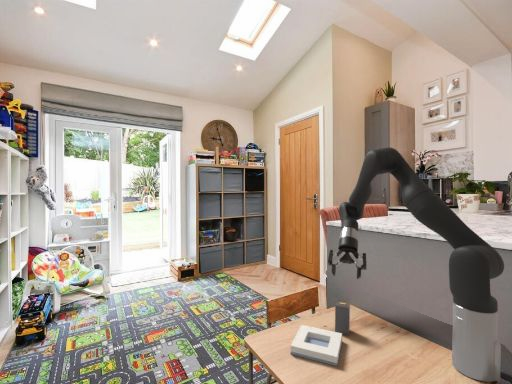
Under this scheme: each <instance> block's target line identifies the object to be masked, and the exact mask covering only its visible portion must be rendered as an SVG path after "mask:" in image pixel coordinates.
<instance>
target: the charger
mask: <svg viewBox="0 0 512 384" xmlns="http://www.w3.org/2000/svg"><path fill="white" fill-rule="evenodd" d="M334 330H335V331H334V332H338V333H342V335H346V336H350V332H351V331H350V330H351V304H350V303H348V302H341V301H336V302H335V305H334Z"/></svg>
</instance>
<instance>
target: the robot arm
mask: <svg viewBox="0 0 512 384" xmlns="http://www.w3.org/2000/svg"><path fill="white" fill-rule="evenodd" d="M361 165H362V166H361V169H360V172H359V175H358V179H357V182H356V184H355V187H354V189H353V190H352V192H351V194H350V196H349V198H348V201H343V202H341V203H340V205H339V206H338V214H339V215H338V216H339V220H340V223H341V225H340V232H339V233H340V234H339V237H338V248H337V249H338V250H336V251H335V250H334V251H333V249H329V253H328V258H327V264H328V265H327V266H331V274H332V276H334V277H335V276H336V275H337V274H336V273H337V271H336V270H337V267H338V266H339V265H341V263H342V264H349V265H352V264H353V265H354V267H355V268H356V279H357V280H359V279H361V278H362V271H363V270H364V271H365V270H367V254H366V252H363V253H359V222H358V221H359V220H361V219H362V218H363V216H364V209H365V206H366V204H367V202H368V201H369V199H370V197H371V196H372V193H373V188H372V181H373V180H374V179H375V178H376V176H377V175H383V174H388V173H389V174H390V175H392V176H393V177H394V178H395V180H396V181H397V182H398V184H399V187H400V195H401V201H402V203H403V205H404V207H405V208H406V209H407V210H408V212H409V213H410V214H411V215H412V216H413V217H414V218H415V220H417V221H418V222H419V223H421V225H423V226H424V227H426V228H427V229H429V230H431V231H432V232H433V233H436V234H437V235H439V236H440V237H441V238H442V239H444V240H445V241H446V242H447V243H448V244H449V245H450V246H451V247H452V249H453V251H452V252H451V253H450V256H449V259H448V279H449V280H448V281H449V283H448V284H449V290H450V293H451V295H452V337H451V338H452V341H451V343H452V345H451V346H452V347H451V348H452V349H451V351H452V352H451V364H452V366H453V367H454V369H455V370H456V371H458V372H460V374H463V376H466V377H468V378H470V379H473V380H476V381H480V382H484V383H485V382H488V383H491V382H499V383H501V367H502V366H501V363H502V362H501V358H502V357H501V355H502V351H501V350H502V345H501V343H500V342H499V340H498V321H499V320H498V312H499V311H498V310H499V304H498V299H497V298H495V297H494V296H493V295H492V294H491V280H492V279H495V278H498V277H500V276H501V275H502V274H503V273H504V270H505V264H504V263H505V262H504V260H503V258H502V257H503V256H501V254H500V253H499V252H498V251H497V250H496V249H495V248H494V246H492V245H490V244H489V243H488V242H487V241H486V240H484V239H483V238H482V237H481V236H479V235H478V234H477V233H476V232H474V230H472V229H471V228H470V227H469V226H468V225H467V224H466V223H465V222H464V221H463V220H462V219H461V218H460V216H458V215H457V214H456V213H455V212H454V211H453V209H451V207H450V206H448V205H447V203H445V201H444V200H443V199H442V198H441V197H440V196H439V195H438V194H437V193H436V191H434V190H433V188H431V187H430V186H429V185H428V184H427V183H426V182H424V180H423V179H422V178H421V177H420V175H418V174H417V173H416V172H415V170H414V169H413V168H412V167H411V166H410V164H409V163H408V162H407V160H406V159H405V158H404V157H403V155H402V154H401V153H400V152H399V151H398V149H395V148H394V147H381V148H376V149H372V150H370V151H368V152H367V154H366V155H365V156H364V160H363V162H362V164H361ZM335 256H337V257H336V258H335V259H334V257H335ZM333 259H334V260H333ZM358 259H360V260H361V261H362V264H361V263H360V262H359V260H358Z"/></svg>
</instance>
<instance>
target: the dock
mask: <svg viewBox="0 0 512 384" xmlns="http://www.w3.org/2000/svg"><path fill="white" fill-rule="evenodd" d="M342 344H343V334H342V333H338V332H335V331H334V330H333V331H332V330H327V329H322V328H319V327H312V326H309V325H305V324H301V325H300V326H299V329H298V331H297V333H296V334H295V337H294V339H293V340H292V342H291V344H290V355H293V356H296V357H301V358H305V359H308V360H312V361H316V362H320V363H324V364H327V365H332V366H335V367H338V363H339V359H340V353H341V348H342Z"/></svg>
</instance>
